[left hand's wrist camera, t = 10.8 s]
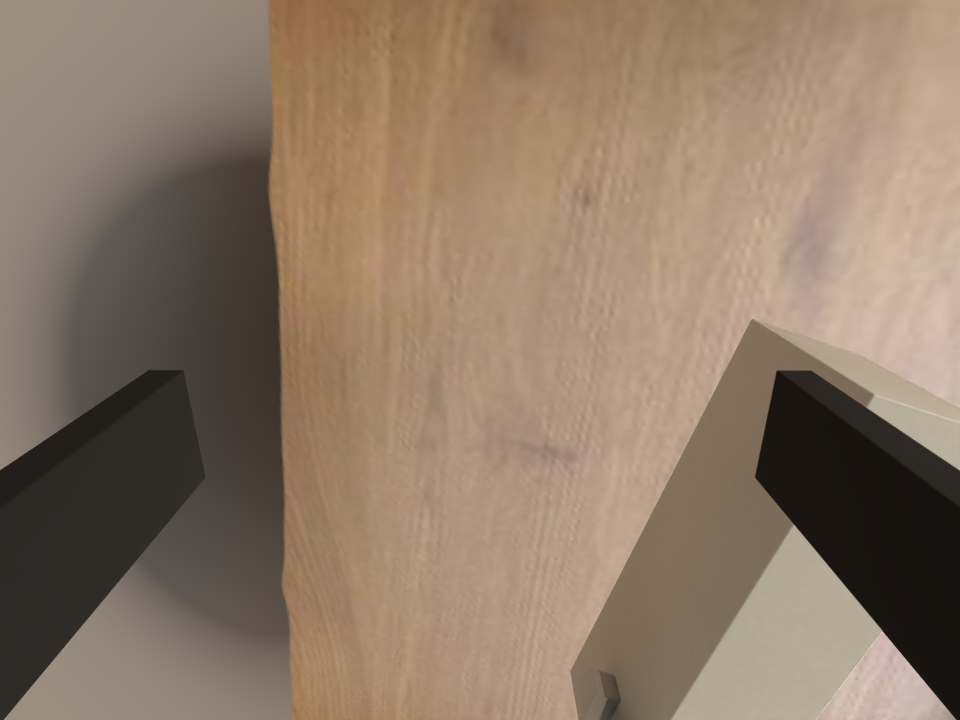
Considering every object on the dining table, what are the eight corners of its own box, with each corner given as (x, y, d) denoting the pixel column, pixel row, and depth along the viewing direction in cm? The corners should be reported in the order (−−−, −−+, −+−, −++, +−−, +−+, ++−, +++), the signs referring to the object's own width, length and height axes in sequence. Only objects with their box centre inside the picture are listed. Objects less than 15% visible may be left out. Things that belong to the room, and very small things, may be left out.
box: (751, 318, 27) (874, 394, 19) (859, 354, 28) (1025, 442, 19) (569, 671, 35) (597, 835, 27) (656, 692, 36) (710, 860, 28)
